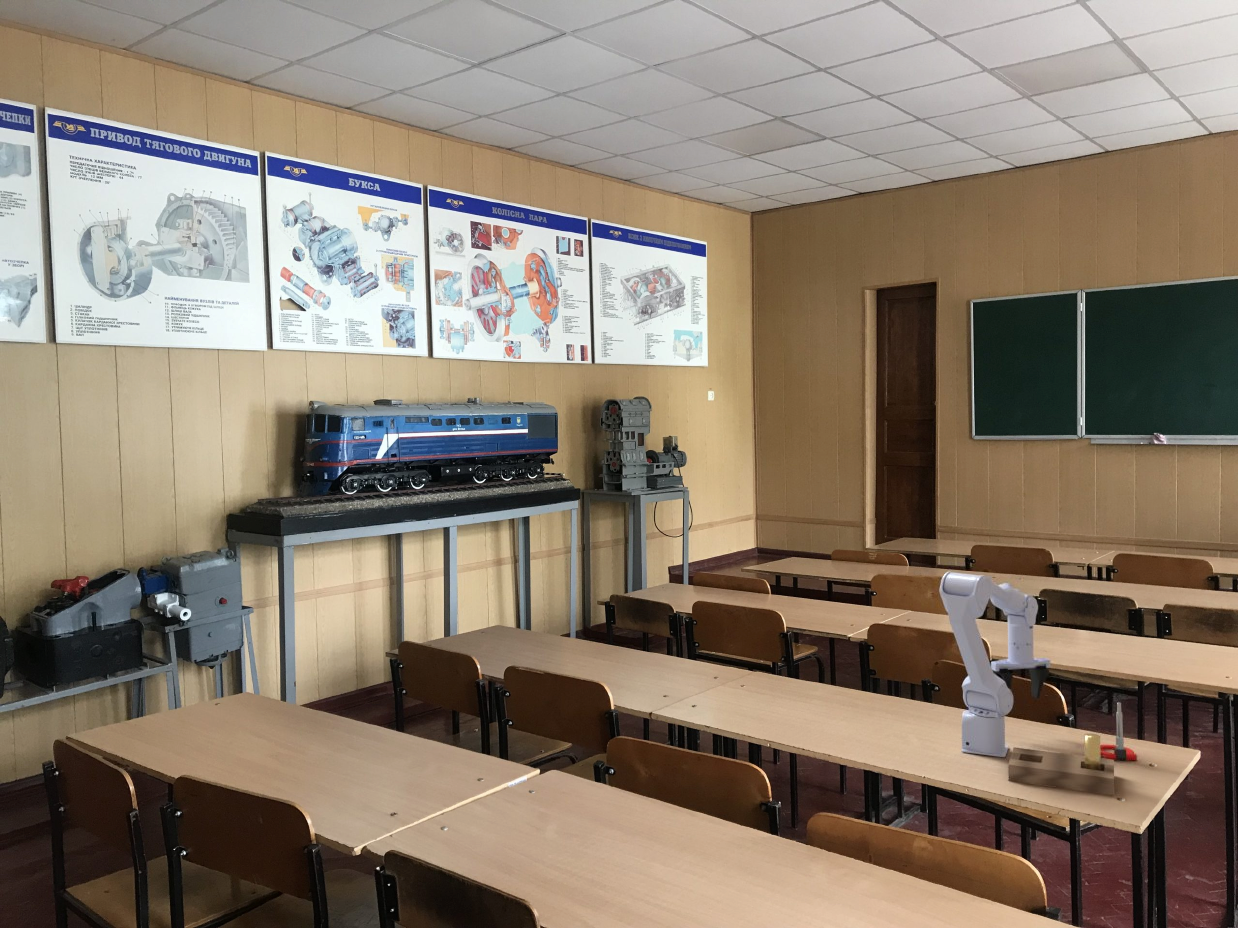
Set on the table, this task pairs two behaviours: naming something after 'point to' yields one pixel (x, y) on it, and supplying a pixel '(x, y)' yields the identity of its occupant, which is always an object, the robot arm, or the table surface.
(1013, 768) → the hole block
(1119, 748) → the tow hook
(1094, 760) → the brass pin
